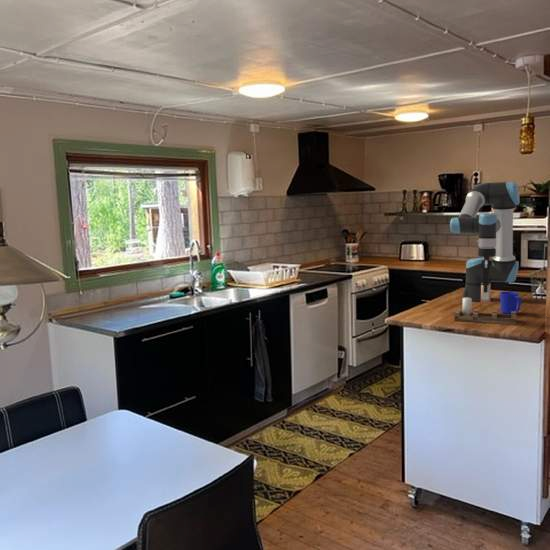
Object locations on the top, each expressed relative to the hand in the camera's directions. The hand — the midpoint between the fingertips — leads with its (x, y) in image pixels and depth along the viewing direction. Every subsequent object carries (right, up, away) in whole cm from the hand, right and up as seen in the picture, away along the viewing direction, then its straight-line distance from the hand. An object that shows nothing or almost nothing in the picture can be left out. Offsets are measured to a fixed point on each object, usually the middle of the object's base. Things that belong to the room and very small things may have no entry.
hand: (485, 298), depth 249 cm
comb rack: (0, -10, +2) cm, 10 cm away
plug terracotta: (0, -2, 0) cm, 2 cm away
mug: (+18, -8, +14) cm, 25 cm away
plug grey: (-7, -9, +5) cm, 12 cm away
